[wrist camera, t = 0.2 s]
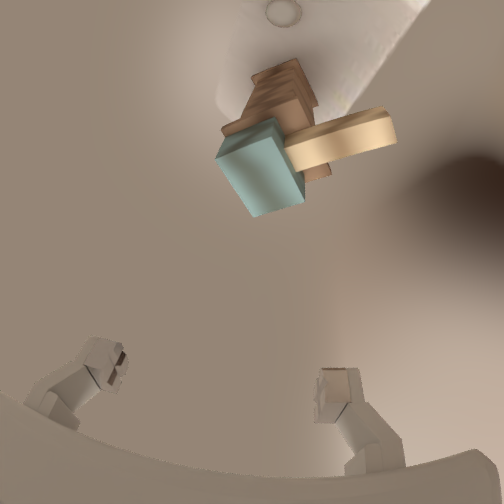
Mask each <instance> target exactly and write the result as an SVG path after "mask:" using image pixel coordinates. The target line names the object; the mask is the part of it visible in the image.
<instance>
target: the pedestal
mask: <svg viewBox="0 0 504 504" xmlns="http://www.w3.org/2000/svg"><path fill="white" fill-rule="evenodd" d="M251 79H252V81H253V82H254V84H255V88H254V90H253V92H252V94H251V96H250V98H249V100H248V103H247V105H246V107H245V109H244V111H243V113H242V115H241V118H240V119H238V120H236V121H234V122H231V123H229V124H227V125H225V126H223V127H222V129H221V131H222V133H223V135H224V136H225V137H227V136H229V135H232V134H234V133H236V132H238V131H241V130H243V129H245V128H248V127H250V126H253V125H255V124H257V123H260V122H262V121H265V120H267V119H270V118H272V117H275V118H276V119H277V121H278V123H279V125H280V127H281V129H282V131H283V133H284V135H285V136H286V135H289V134H292V133H295V132H298V131H300V130H303V129H306V128H309V127H312V126H315V122H314V115H313V107H316V106H319V105H318V102H317V100H316V98H315V95H314V93H313V91H312V89H311V87H310V85H309V83H308V81H307V79H306V77H305V74H304V72H303V70H302V68H301V66H300V64H299V63H298V61H297V59H296V58H295V59H293V60H290V61H287V62H285V63H282V64H280V65H277V66H275V67H272V68H270V69H267V70H265V71H263V72H260V73H258V74H256V75H253V76H252V77H251ZM302 171H303V173H304V175H305V183H306V182H309V181H313V180H316V179H319V178H322V177H326V176H329V175H332V173H331V169H330V166H329V164H328V162H327V163H324V164H320V165H317V166H314V167H311V168H308V169H305V170H302Z"/></svg>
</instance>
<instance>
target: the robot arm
mask: <svg viewBox="0 0 504 504" xmlns="http://www.w3.org/2000/svg"><path fill="white" fill-rule="evenodd" d="M123 348H124V347H123V345H122V343H120V342H116V341H112V340H108V339H104V338H101V337H97V336H93V335H90V336H89V337H88V338H87V340H86V341H85V343H84V345H83V346H82V348H81V350H80V351H79V353H78V355H77V356H76V358H75V360H74V362H73V361H70V362H69V363H67V364H65V365H64V366H62V367H60V368H59V369H57V370H55V371H54V372H52V373H50V374H49V375H47V376H45V377H44V378H42V379H40V380H39V381H37V382H36V383H34V385H33V387H32V388H31V390H30V392H29V394H28V396H27V397H26V399H25V401H24V403H23V404H22V403H20V402H18V401H17V400H15V399H13V398H12V397H10V396H9V395H7V394H5V393H4V392H2V391H1V390H0V504H502V497H501V487H500V479H499V474H498V470H497V467H496V465H495V464H494V463H493V462H492V461H491V460H490V459H489V458H488V457H487V456H485V455H484V454H483V453H482V452H480V451H479V450H477V449H471V450H468V451H465V452H462V453H459V454H456V455H452V456H449V457H446V458H442V459H439V460H435V461H431V462H427V463H423V464H418V465H414V466H410V467H406V464H405V457H404V451H403V444H402V439H401V438H400V437H399V436H398V435H397V434H396V433H395V431H394V430H393V429H392V428H391V427H390V426H389V425H388V424H387V423H386V421H385V420H384V419H383V418H382V417H381V416H380V415H379V414H378V413H377V412H376V410H375V409H374V408H373V407H372V406H371V405H370V404H369V403H368V402H365V401H364V394H363V388H362V382H361V377H360V371H359V369H358V368H321V369H320V371H319V378H317V379H316V381H315V385H314V401H315V402H316V403H317V404H316V406H315V408H314V423H335V426H336V427H337V429H338V430H339V432H340V433H341V435H342V436H343V438H344V439H345V441H346V442H347V444H348V445H349V447H350V448H351V449H352V451H353V452H354V454H355V456H354V457H353V458H352V459H351V460H350V461H348V462H347V463H346V464H345V476H334V477H311V478H310V477H309V478H292V477H289V478H288V477H264V476H252V475H242V474H241V475H240V474H233V473H225V472H218V471H211V470H205V469H199V468H193V467H188V466H184V465H179V464H175V463H171V462H166V461H162V460H158V459H155V458H151V457H147V456H144V455H140V454H137V453H133V452H130V451H127V450H124V449H121V448H118V447H115V446H112V445H110V444H107V443H104V442H101V441H99V440H96V439H94V438H91V437H89V436H86V435H84V434H82V433H79V432H77V429H78V427H79V425H80V420H79V419H78V418H77V417H76V416H75V415H74V414H73V413H74V412H75V411H76V410H77V409H79V408H80V407H81V406H82V405H84V404H85V403H86V402H87V401H89V400H90V399H91V398H92V397H94V396H95V395H96V394H97V393H98V392H99V391H101V390H104V391H108V392H111V393H115V394H117V392H118V390H119V387H120V385H121V383H122V381H121V378H120V377H122V376H123V375H125V374H126V371H127V369H128V357H127V355H126V354H125V353H124V352H123V351H122V350H123Z"/></svg>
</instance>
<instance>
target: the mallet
mask: <svg viewBox="0 0 504 504" xmlns="http://www.w3.org/2000/svg"><path fill="white" fill-rule="evenodd" d="M394 143H397V139H396V135H395V131H394V127H393V124H392V120H391V116H390V115H389V114H388V112H387V111H386V110H385V108H384V107H383V106H379V107H375V108H372V109H368V110H364V111H361V112H357V113H354V114H350V115H347V116H344V117H340V118H337V119H334V120H331V121H327V122H324V123H321V124H318V125H315V126H312V127H309V128H306V129H303V130H300V131H298V132H295V133H292V134H289V135H286V136H285V135H284V133H283V131H282V129H281V127H280V125H279V123H278V121H277V119H276V118H275V117H272V118H270V119H267V120H265V121H262V122H260V123H257V124H255V125H253V126H250V127H248V128H245V129H243V130H241V131H238V132H236V133H234V134H232V135H229V136H227V137H225V139H224V141H223V143H222V145H221V147H220V149H219V152H218V154H217V156H216V158H215V161H216V162H217V164H218V165H219V167H220V168H221V170H222V171H223V173H224V174H225V176H226V177H227V179H228V180H229V182H230V183H231V184H232V186H233V188H234V189H235V191H236V192H237V194H238V195H239V196H240V198H241V200H242V201H243V203H244V204H245V206H246V207H247V208H248V210H249V211H250V213H251V214H252V216H253V217H257V216H260V215H263V214H266V213H269V212H273V211H276V210H279V209H283V208H286V207H290V206H293V205H296V204H300V203H303V202H305V175H304V173H303V171H302V170H305V169H308V168H311V167H314V166H317V165H320V164H324V163H327V162H330V161H334V160H337V159H340V158H344V157H347V156H351V155H354V154H358V153H361V152H365V151H368V150H372V149H375V148H379V147H383V146H387V145H390V144H394Z"/></svg>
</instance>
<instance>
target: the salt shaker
mask: <svg viewBox="0 0 504 504" xmlns="http://www.w3.org/2000/svg"><path fill="white" fill-rule="evenodd" d="M301 14H302V13H301V9H300V6H299V5H298V4H297V3H296V2H295V1H293V0H273V1H271V2H270V4H269V5H268V6H267V9H266V16H267V19H268V20H269V21H270V22H271V23H272V24H273V25H276V26H278V27H287V28H288V27H291V26H293V25H295V24H296V23H297V22H298V21H299V20H300V18H301Z"/></svg>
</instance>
